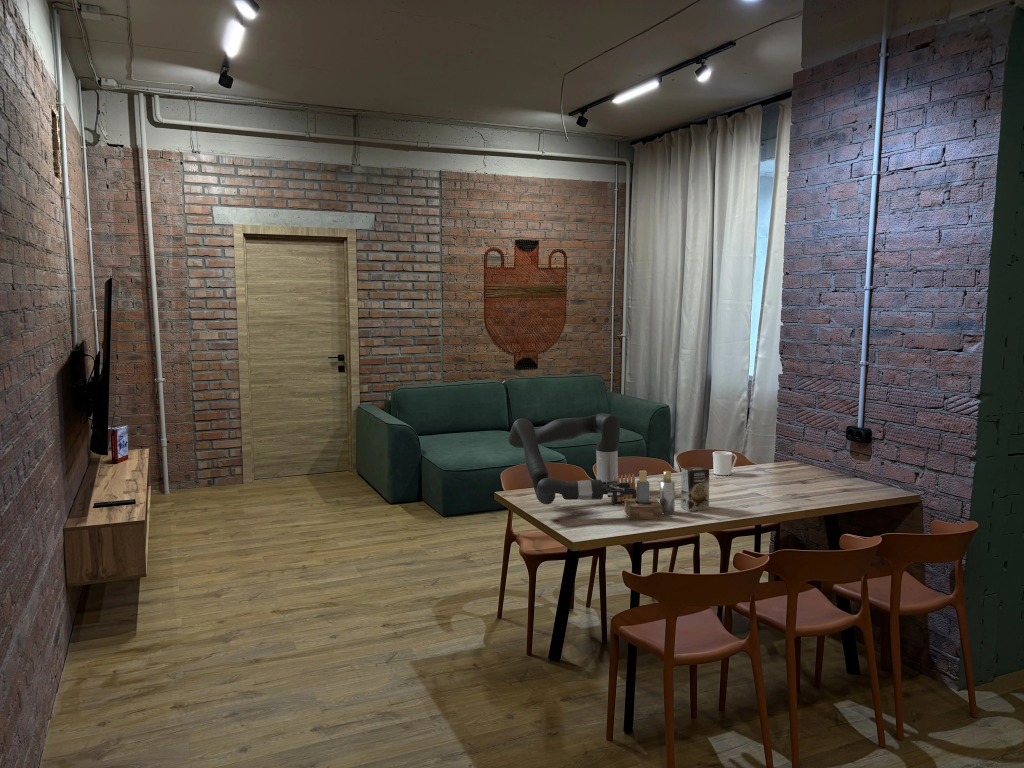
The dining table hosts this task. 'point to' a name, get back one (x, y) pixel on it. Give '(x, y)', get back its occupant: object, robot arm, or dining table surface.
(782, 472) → the dining table surface
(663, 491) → the silver bottle
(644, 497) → the square bit
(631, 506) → the socket block
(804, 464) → the dining table surface
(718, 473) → the mug
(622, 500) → the ammunition clip
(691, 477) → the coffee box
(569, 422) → the robot arm
